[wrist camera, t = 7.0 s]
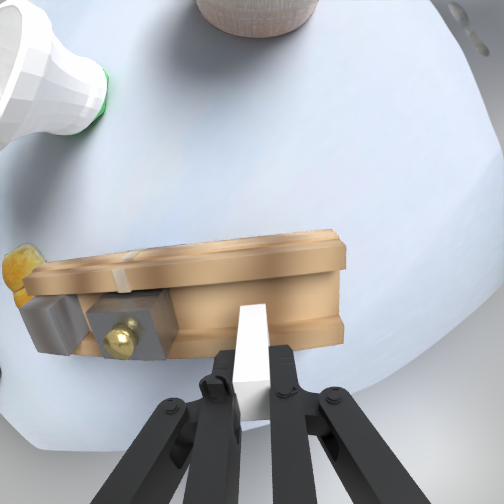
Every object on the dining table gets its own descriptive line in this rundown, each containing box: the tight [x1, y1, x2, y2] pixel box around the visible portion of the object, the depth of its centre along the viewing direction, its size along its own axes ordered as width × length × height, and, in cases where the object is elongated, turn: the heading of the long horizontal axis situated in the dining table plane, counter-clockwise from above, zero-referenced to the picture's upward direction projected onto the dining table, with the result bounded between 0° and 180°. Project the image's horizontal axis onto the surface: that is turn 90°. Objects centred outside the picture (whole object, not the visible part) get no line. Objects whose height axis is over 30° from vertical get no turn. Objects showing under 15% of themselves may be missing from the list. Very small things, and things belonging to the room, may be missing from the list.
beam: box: [19, 229, 346, 361], centre depth 21 cm, size 26×8×10 cm, turn 96°
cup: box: [0, 0, 109, 152], centre depth 14 cm, size 11×11×14 cm
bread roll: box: [2, 243, 47, 309], centre depth 25 cm, size 8×9×4 cm
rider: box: [85, 288, 179, 360], centre depth 18 cm, size 5×4×5 cm
